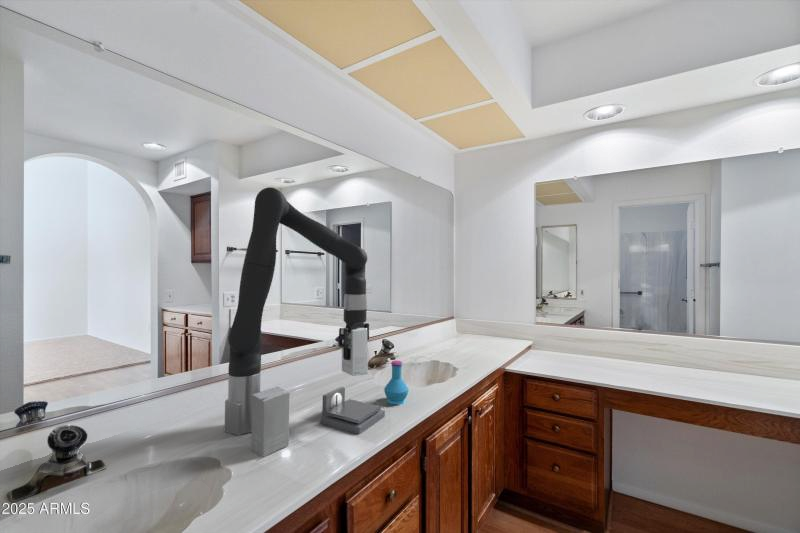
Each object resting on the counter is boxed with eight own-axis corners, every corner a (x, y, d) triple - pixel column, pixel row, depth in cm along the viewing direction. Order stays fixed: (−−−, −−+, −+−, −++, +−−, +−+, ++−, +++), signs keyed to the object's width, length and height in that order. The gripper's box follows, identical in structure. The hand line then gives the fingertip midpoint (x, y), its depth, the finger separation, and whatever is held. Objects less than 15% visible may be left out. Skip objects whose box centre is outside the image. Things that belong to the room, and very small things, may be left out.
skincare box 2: (368, 374, 118) (369, 328, 119) (351, 377, 115) (352, 330, 115) (355, 368, 125) (357, 325, 125) (339, 370, 122) (341, 326, 122)
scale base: (359, 434, 110) (359, 407, 110) (317, 422, 118) (317, 397, 118) (384, 416, 123) (385, 393, 123) (345, 407, 131) (345, 384, 131)
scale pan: (358, 425, 111) (358, 420, 111) (325, 416, 117) (325, 411, 117) (380, 410, 123) (380, 406, 123) (349, 403, 129) (349, 399, 129)
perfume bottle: (412, 404, 135) (412, 363, 135) (388, 407, 132) (389, 365, 132) (402, 395, 143) (403, 357, 144) (380, 398, 140) (381, 359, 140)
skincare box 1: (276, 439, 106) (277, 385, 106) (290, 447, 101) (291, 390, 101) (248, 450, 99) (249, 392, 99) (262, 459, 95) (263, 398, 95)
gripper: (358, 305, 128) (357, 351, 128) (332, 308, 116) (331, 360, 115) (376, 306, 125) (375, 354, 125) (351, 310, 112) (350, 363, 112)
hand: (354, 356), depth 120 cm, fingers closed on skincare box 2, 7 cm apart
